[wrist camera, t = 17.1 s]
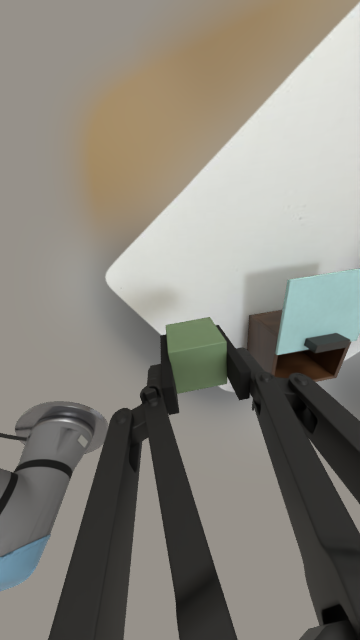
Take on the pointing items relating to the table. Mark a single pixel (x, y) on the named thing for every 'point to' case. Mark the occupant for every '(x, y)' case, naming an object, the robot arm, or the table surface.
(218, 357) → the block
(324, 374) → the case
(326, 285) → the light blue board
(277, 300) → the table surface
